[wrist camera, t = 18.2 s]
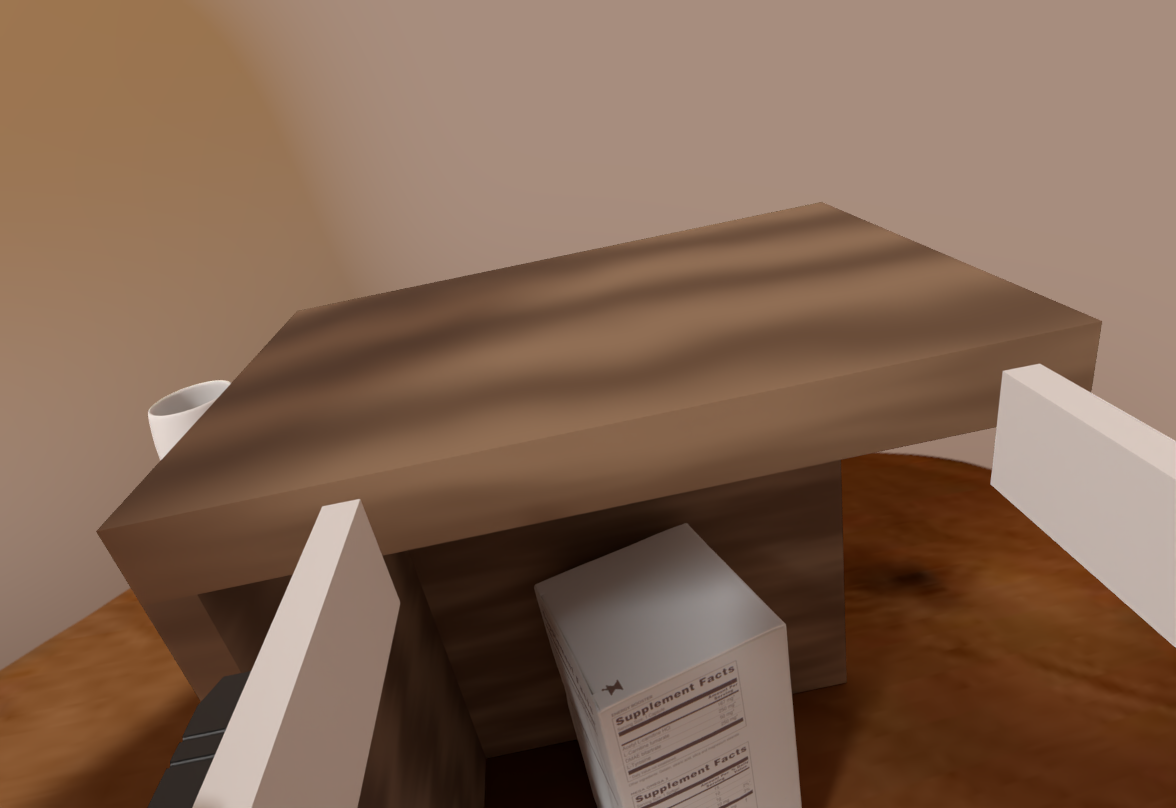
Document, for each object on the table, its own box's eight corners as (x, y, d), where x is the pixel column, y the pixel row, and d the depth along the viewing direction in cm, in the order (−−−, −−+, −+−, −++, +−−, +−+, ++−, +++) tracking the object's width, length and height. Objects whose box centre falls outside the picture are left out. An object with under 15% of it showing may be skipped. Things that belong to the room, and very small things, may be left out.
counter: (1002, 969, 32) (1102, 321, 18) (439, 1089, 31) (96, 531, 18) (837, 665, 48) (821, 202, 34) (465, 743, 48) (297, 310, 34)
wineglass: (341, 554, 70) (260, 366, 61) (315, 615, 63) (218, 411, 53) (258, 569, 71) (166, 385, 62) (222, 631, 63) (110, 431, 54)
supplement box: (812, 860, 37) (796, 626, 30) (658, 949, 35) (599, 719, 27) (717, 724, 45) (687, 515, 38) (588, 789, 43) (528, 579, 36)
